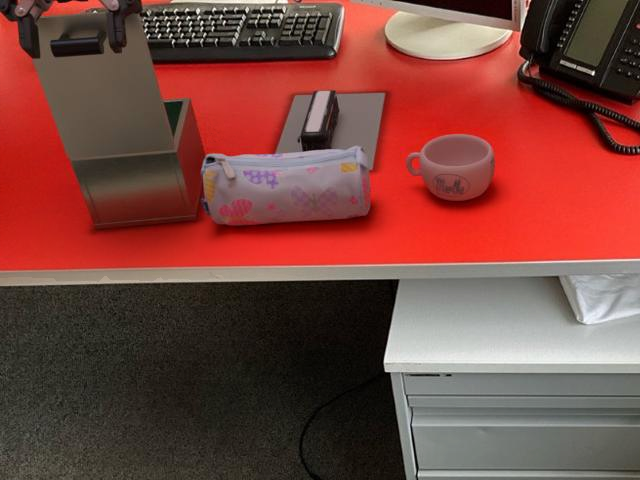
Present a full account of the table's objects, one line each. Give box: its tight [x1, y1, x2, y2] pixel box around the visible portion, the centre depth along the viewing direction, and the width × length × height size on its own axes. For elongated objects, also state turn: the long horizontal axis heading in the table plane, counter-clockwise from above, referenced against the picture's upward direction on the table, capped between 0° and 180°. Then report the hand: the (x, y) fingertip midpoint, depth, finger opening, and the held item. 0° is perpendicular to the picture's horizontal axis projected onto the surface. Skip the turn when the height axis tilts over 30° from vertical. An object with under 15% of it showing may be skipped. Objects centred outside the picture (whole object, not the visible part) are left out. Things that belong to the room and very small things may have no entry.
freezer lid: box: [31, 11, 176, 160], centre depth 101 cm, size 16×13×5 cm
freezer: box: [69, 97, 207, 230], centre depth 118 cm, size 16×13×10 cm
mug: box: [405, 133, 496, 202], centre depth 119 cm, size 12×10×6 cm
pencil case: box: [200, 146, 371, 227], centre depth 113 cm, size 21×9×10 cm, turn 92°
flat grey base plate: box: [274, 89, 386, 171], centre depth 133 cm, size 14×25×4 cm, turn 1°
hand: (75, 53), depth 95 cm, fingers open, 8 cm apart
